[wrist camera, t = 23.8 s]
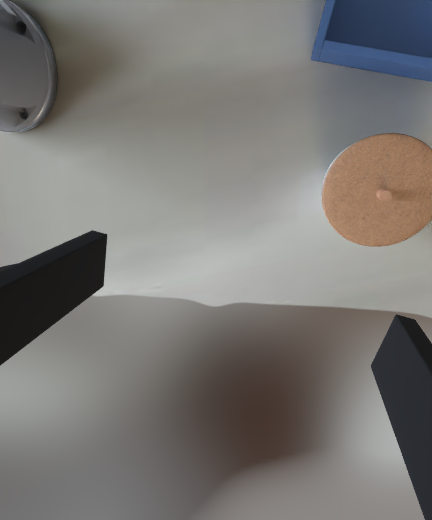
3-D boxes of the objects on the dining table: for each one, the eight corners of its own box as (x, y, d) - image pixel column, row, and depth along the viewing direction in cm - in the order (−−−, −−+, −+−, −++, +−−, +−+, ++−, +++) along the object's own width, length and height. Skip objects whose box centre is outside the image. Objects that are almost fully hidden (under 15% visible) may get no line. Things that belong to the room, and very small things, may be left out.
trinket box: (298, 191, 40) (299, 204, 31) (364, 114, 35) (388, 104, 27) (364, 245, 40) (384, 273, 31) (438, 175, 36) (484, 186, 27)
